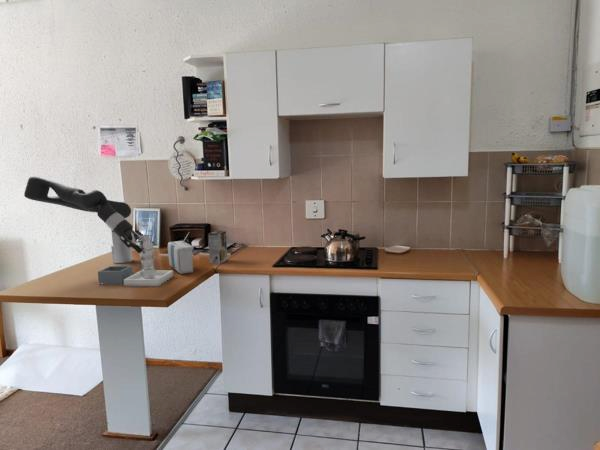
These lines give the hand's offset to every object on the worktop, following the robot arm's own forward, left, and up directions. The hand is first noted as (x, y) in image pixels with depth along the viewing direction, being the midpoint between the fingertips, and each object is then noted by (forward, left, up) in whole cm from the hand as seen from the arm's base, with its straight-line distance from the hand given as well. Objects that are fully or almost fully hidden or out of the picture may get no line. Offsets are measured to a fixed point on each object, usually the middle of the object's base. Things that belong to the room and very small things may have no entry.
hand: (145, 249), depth 193 cm
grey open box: (-16, 0, -15) cm, 21 cm away
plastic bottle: (0, +1, -14) cm, 14 cm away
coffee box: (+21, +38, -15) cm, 47 cm away
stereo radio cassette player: (+7, +21, -15) cm, 27 cm away
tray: (0, 0, -15) cm, 15 cm away
